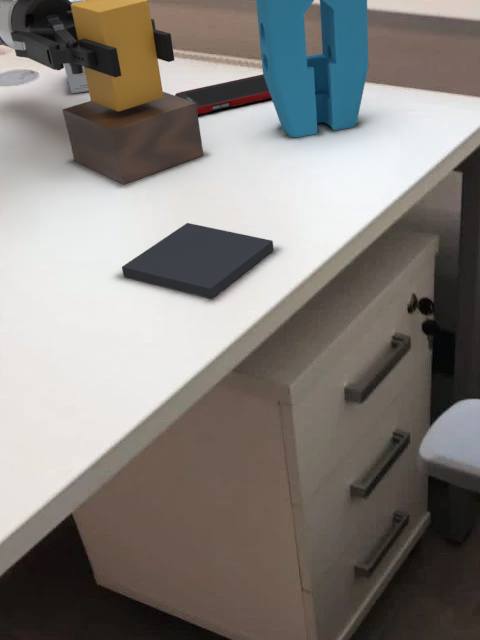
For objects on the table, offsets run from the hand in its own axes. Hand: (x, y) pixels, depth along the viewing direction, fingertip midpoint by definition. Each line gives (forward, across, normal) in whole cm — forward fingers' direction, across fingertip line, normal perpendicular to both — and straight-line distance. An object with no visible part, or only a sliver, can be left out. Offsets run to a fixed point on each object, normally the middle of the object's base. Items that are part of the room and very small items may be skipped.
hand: (143, 55), depth 93 cm
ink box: (-37, +11, +12) cm, 40 cm away
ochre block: (-5, 0, +6) cm, 8 cm away
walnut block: (-5, 0, +12) cm, 13 cm away
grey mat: (+22, -11, +12) cm, 28 cm away
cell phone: (-13, +21, +12) cm, 27 cm away
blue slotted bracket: (+4, +21, +12) cm, 24 cm away
